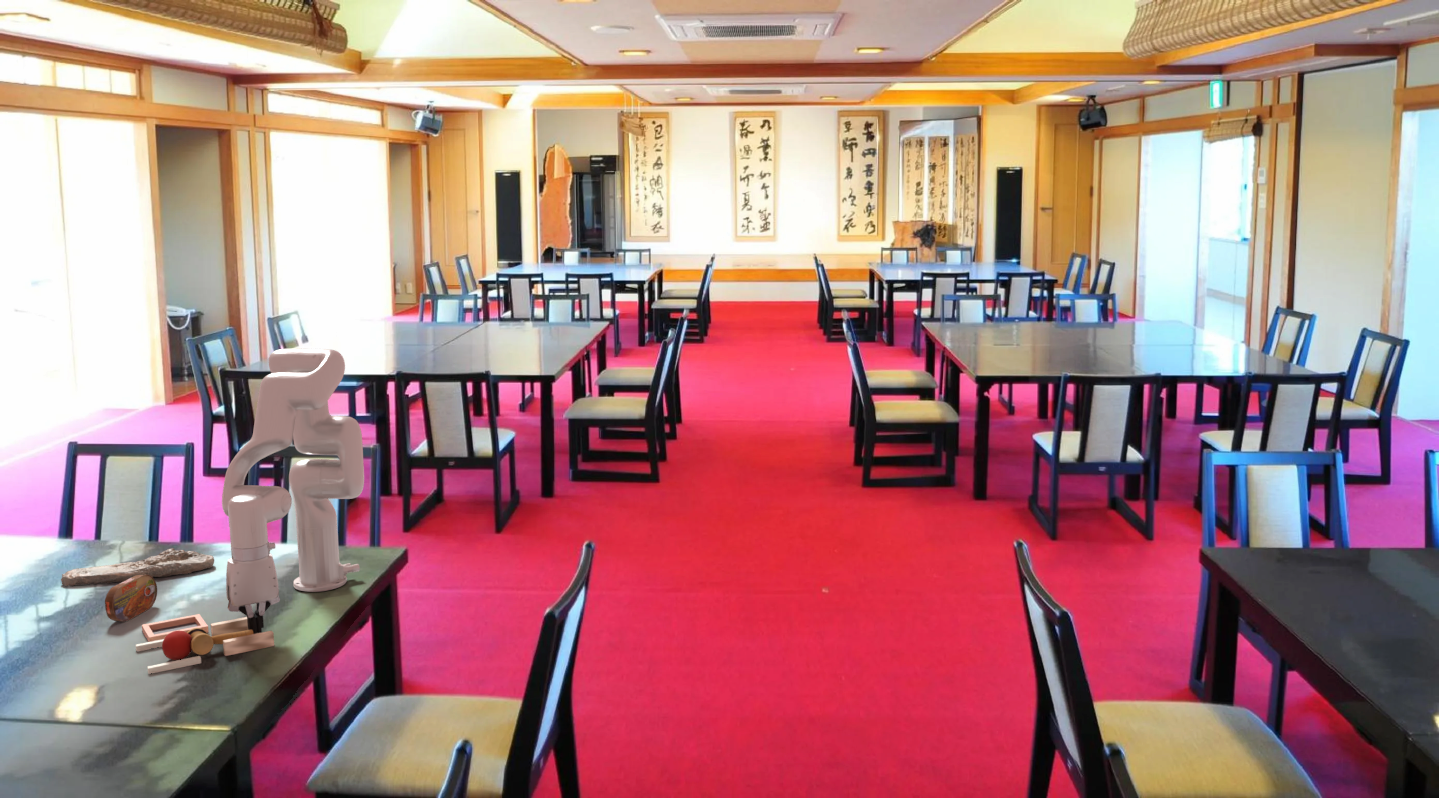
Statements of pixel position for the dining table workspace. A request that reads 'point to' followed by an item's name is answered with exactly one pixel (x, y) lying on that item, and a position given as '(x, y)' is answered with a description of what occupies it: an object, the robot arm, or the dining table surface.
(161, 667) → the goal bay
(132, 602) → the tin
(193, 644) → the kendama
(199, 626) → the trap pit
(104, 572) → the elongated rock
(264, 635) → the lane
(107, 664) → the dining table surface
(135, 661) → the dining table surface
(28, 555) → the dining table surface
